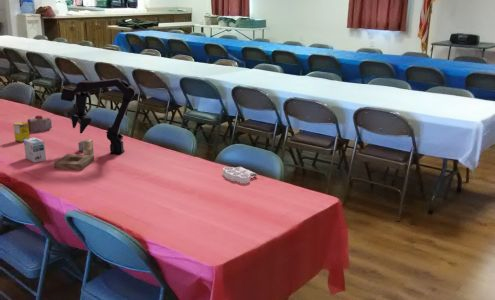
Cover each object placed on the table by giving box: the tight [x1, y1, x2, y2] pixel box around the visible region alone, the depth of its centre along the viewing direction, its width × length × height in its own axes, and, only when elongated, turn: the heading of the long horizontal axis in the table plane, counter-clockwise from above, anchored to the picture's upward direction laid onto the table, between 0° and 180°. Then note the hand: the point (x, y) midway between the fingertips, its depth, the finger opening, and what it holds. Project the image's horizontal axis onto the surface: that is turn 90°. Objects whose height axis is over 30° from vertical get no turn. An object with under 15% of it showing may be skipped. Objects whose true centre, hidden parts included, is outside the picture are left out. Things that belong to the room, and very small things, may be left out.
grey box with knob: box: [26, 115, 53, 133], centre depth 337 cm, size 14×8×10 cm, turn 131°
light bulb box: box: [23, 137, 47, 163], centre depth 282 cm, size 11×7×11 cm, turn 47°
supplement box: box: [13, 121, 31, 144], centre depth 314 cm, size 6×6×11 cm
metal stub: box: [77, 140, 84, 152], centre depth 300 cm, size 4×4×5 cm
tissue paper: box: [222, 166, 258, 184], centre depth 264 cm, size 3×18×15 cm
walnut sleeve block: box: [53, 153, 95, 171], centre depth 277 cm, size 15×15×3 cm
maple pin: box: [82, 138, 95, 156], centre depth 290 cm, size 4×4×9 cm
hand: (77, 130), depth 293 cm, fingers open, 9 cm apart
